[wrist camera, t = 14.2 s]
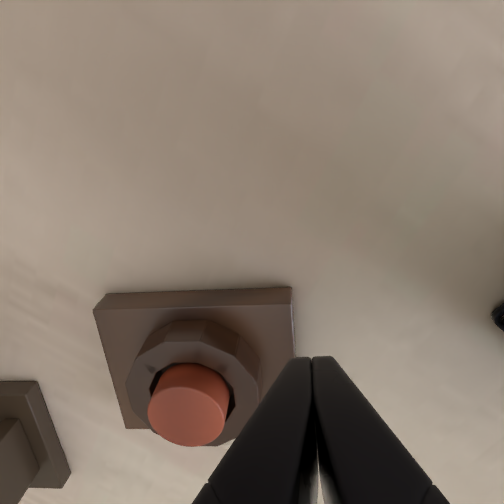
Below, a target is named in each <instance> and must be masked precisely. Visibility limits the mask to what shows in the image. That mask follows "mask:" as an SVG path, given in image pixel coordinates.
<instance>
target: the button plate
mask: <svg viewBox="0 0 504 504" xmlns="http://www.w3.org/2000/svg"><path fill="white" fill-rule="evenodd" d="M93 314H94V317H95V321H96V324H97V328H98V331H99V335H100V339H101V342H102V346H103V349H104V353H105V356H106V360H107V363H108V367H109V370H110V374H111V378H112V381H113V385H114V388H115V392H116V395H117V399H118V402H119V406H120V409H121V413H122V417H123V420H124V424H125V427H126V429H151V430H152V431H153V432H154V433H156V434H158V433H157V432H156V431H155V430H154V429H153V427H152V426H151V424H150V422H149V419H148V414H147V408H148V404H149V401H150V399H151V397H152V395H153V392H154V390H155V388H156V386H157V384H158V381H159V379H160V377H161V375H162V374H163V373H164V372H165V371H166V370H167V369H169V368H170V367H172V366H174V365H177V364H180V363H198V364H202V365H204V366H206V367H209V368H211V369H213V370H215V371H216V372H217V373H219V374H220V375H221V376H222V378H223V379H224V380H225V382H226V384H227V386H228V388H229V392H230V399H229V404H228V409H227V414H226V419H225V424H224V428H223V430H222V432H221V434H220V435H219V436H218V437H217V438H216V439H215V440H213V441H212V442H210V443H208V444H205V445H202V446H218V445H221V444H224V443H226V442H228V441H230V440H232V439H235V438H237V436H238V435H239V433H240V432H241V430H242V429H243V427H244V426H245V424H246V423H247V421H248V420H249V418H250V417H251V415H252V414H253V412H254V411H255V409H256V408H257V406H258V405H259V404H260V402H261V401H262V399H263V398H264V396H265V395H266V393H267V392H268V390H269V389H270V387H271V386H272V384H273V383H274V381H275V380H276V378H277V377H278V375H279V374H280V372H281V371H282V369H283V368H284V366H285V365H286V363H287V362H288V361H289V359H290V358H292V357H296V348H295V332H294V317H293V301H292V288H291V287H284V288H256V289H228V290H200V291H172V292H144V293H116V294H106V295H105V296H104V297H103V298H102V299H101V301H100V302H99V303H98V304H97V305H96V306H95V308H94V309H93ZM158 435H159V434H158Z"/></svg>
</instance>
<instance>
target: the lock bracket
mask: <svg viewBox="0 0 504 504" xmlns="http://www.w3.org/2000/svg"><path fill="white" fill-rule="evenodd" d="M70 473H71V472H70V470H69V467H68V464H67V462H66V459H65V456H64V454H63V451H62V448H61V445H60V443H59V440H58V437H57V435H56V432H55V429H54V427H53V424H52V421H51V419H50V416H49V413H48V410H47V408H46V405H45V402H44V400H43V397H42V394H41V392H40V389H39V386H38V384H37V382H36V381H19V382H0V504H18V503H19V501H20V500H21V498H22V497H23V495H24V493H25V492H26V490H27V489H28V488H63V486H64V484H65V483H66V481H67V479H68V477H69V476H70Z"/></svg>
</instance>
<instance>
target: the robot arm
mask: <svg viewBox="0 0 504 504" xmlns="http://www.w3.org/2000/svg"><path fill="white" fill-rule="evenodd" d="M502 316H504V303H503V304H502V305H500V306H499V307H498V308H496V309H495V310H494V311H493V312H492V315H491V317H492V320H493V321H494V322H495V324H496V325H497V326H498V327H499V328H500V329H501V330H502V331H504V319H501V317H502ZM317 451H318V452H317ZM318 463H319V474H320V481H321V488H322V494H323V499H324V504H450V503H449V502H448V501H447V499H446V498H445V497H444V495H443V494H442V493H441V492H440V490H439V489H438V488H437V487H436V486H435V485H432V481H431V479H430V478H429V477H428V476H427V474H426V473H425V472H424V471H423V469H422V468H421V467H420V466H419V464H418V463H417V462H416V461H415V459H414V458H413V457H412V456H411V454H410V453H409V452H408V451H407V449H406V448H405V447H404V446H403V444H402V443H401V442H400V440H399V439H398V438H397V437H396V435H395V434H394V433H393V432H392V430H391V429H390V428H389V427H388V425H387V424H386V423H385V422H384V420H383V419H382V418H381V417H380V415H379V414H378V413H377V412H376V410H375V409H374V408H373V407H372V405H371V404H370V403H369V402H368V400H367V399H366V398H365V397H364V395H363V394H362V393H361V392H360V390H359V389H358V388H357V386H356V385H355V384H354V383H353V381H352V380H351V379H350V378H349V376H348V375H347V374H346V373H345V371H344V370H343V369H342V368H341V366H340V365H339V364H338V363H337V361H336V360H335V359H334V358H333V357H332V356H317V357H313V358H312V362H311V359H310V358H309V357H292V358H290V359H289V361H288V362H287V363H286V365H285V366H284V368H283V369H282V371H281V372H280V374H279V375H278V377H277V378H276V380H275V381H274V383H273V384H272V386H271V387H270V389H269V390H268V392H267V393H266V395H265V396H264V398H263V399H262V401H261V402H260V404H259V405H258V406H257V408H256V409H255V411H254V412H253V414H252V415H251V417H250V418H249V420H248V421H247V423H246V424H245V426H244V427H243V429H242V430H241V432H240V433H239V435H238V436H237V438H236V439H235V441H234V442H233V444H232V445H231V447H230V448H229V449H228V451H227V452H226V454H225V455H224V457H223V458H222V460H221V461H220V463H219V464H218V466H217V467H216V469H215V470H214V472H213V473H212V475H211V476H210V478H209V479H208V483H206V484H205V485H204V486H203V488H202V489H201V491H200V492H199V494H198V495H197V497H196V498H195V500H194V501H193V503H192V504H317V497H318Z"/></svg>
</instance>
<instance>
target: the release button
mask: <svg viewBox="0 0 504 504" xmlns="http://www.w3.org/2000/svg"><path fill="white" fill-rule="evenodd" d="M229 399H230V392H229V388H228V386H227V384H226V382H225V380H224V379H223V378H222V376H221V375H220V374H219V373H217V372H216V371H215V370H213V369H211V368H209V367H206V366H204V365H202V364H198V363H180V364H177V365H174V366H172V367H170V368H169V369H167V370H166V371H165V372H164V373H163V374H162V375H161V377H160V379H159V381H158V384H157V386H156V388H155V390H154V392H153V395H152V397H151V399H150V401H149V404H148V408H147V414H148V419H149V422H150V424H151V426H152V427H153V429H154V430H155V431H156V432H157V433H158V434H159V435H160V436H162V437H163V438H164V439H166V440H168V441H170V442H172V443H175V444H178V445H182V446H190V447H194V446H202V445H205V444H208V443H210V442H212V441H213V440H215V439H216V438H217V437H218V436H219V435H220V434H221V432H222V430H223V428H224V424H225V419H226V414H227V409H228V404H229Z"/></svg>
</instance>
